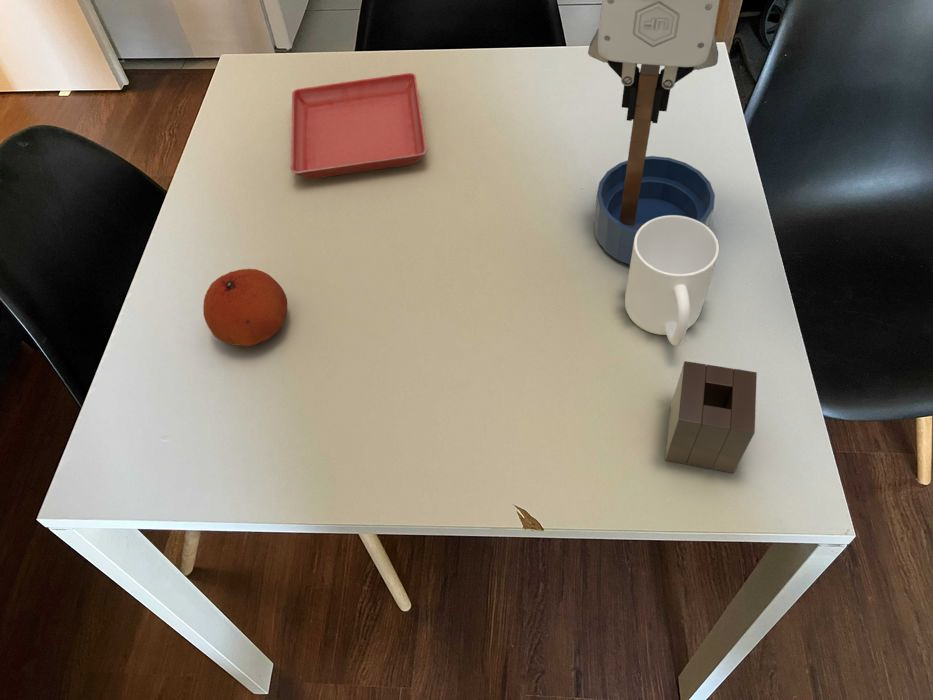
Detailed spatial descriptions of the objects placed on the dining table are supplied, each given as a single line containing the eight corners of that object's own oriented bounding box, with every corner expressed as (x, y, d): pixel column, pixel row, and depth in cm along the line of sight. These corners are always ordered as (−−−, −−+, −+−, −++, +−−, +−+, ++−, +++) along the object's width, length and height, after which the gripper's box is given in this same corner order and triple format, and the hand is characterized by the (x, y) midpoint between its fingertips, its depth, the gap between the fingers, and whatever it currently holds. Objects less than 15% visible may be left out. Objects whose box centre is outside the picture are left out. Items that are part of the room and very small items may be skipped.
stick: (635, 215, 86) (660, 65, 70) (634, 225, 85) (658, 76, 69) (620, 213, 86) (641, 63, 70) (618, 224, 85) (639, 74, 69)
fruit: (218, 366, 80) (190, 323, 74) (218, 306, 85) (192, 260, 79) (296, 350, 81) (275, 306, 74) (292, 291, 86) (272, 245, 79)
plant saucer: (430, 171, 96) (427, 152, 93) (296, 191, 96) (289, 172, 93) (418, 91, 106) (415, 71, 104) (297, 108, 106) (291, 89, 104)
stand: (736, 415, 72) (756, 372, 65) (733, 473, 68) (754, 433, 62) (670, 404, 73) (684, 360, 66) (664, 460, 70) (678, 419, 63)
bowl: (707, 200, 89) (717, 162, 84) (700, 279, 82) (710, 242, 77) (602, 188, 92) (606, 151, 87) (586, 263, 85) (589, 227, 80)
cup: (692, 277, 82) (710, 212, 74) (713, 364, 75) (735, 303, 67) (619, 280, 83) (629, 217, 74) (633, 367, 76) (645, 308, 68)
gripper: (567, -58, 58) (560, 129, 73) (772, -48, 55) (721, 145, 70) (582, -101, 62) (572, 85, 77) (773, -94, 59) (725, 98, 74)
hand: (643, 112), depth 74 cm, fingers closed on stick, 1 cm apart
